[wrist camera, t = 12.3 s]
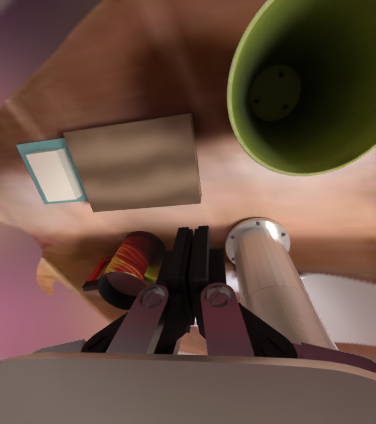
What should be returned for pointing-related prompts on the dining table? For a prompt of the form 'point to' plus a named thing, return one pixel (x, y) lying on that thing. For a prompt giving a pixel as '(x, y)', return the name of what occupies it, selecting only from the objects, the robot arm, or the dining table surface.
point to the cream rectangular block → (55, 174)
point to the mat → (43, 146)
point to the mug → (128, 270)
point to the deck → (138, 163)
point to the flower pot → (306, 85)
